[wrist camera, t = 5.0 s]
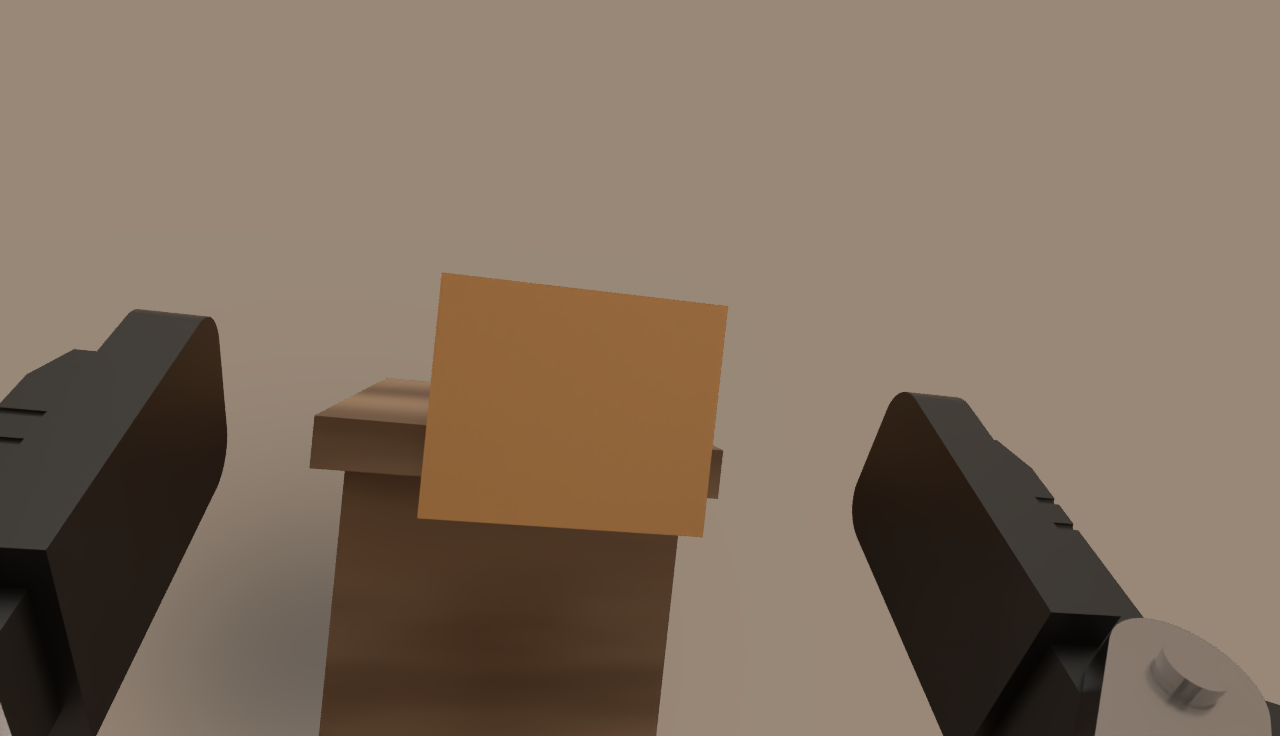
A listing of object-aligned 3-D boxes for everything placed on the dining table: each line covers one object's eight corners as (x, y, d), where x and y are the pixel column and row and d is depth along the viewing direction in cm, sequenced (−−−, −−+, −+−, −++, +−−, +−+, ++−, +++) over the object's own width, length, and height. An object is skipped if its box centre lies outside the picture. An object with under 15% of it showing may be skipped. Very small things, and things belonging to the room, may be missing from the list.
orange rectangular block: (703, 536, 9) (727, 306, 9) (417, 518, 9) (442, 272, 9) (551, 389, 31) (558, 320, 31) (466, 381, 30) (473, 311, 30)
